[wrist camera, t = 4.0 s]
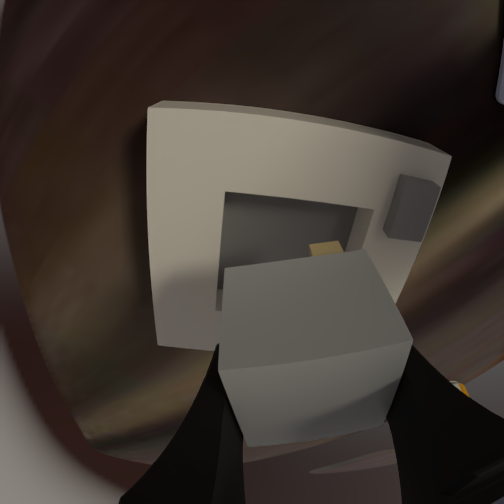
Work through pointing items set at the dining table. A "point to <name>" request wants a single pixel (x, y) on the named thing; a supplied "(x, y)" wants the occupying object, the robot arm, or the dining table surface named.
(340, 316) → the plug
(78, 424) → the dining table surface
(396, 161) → the socket
